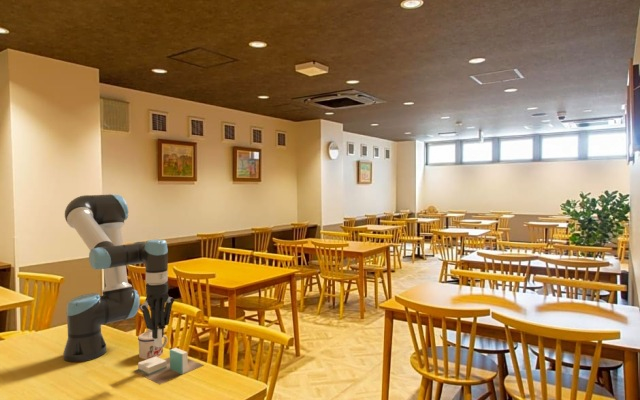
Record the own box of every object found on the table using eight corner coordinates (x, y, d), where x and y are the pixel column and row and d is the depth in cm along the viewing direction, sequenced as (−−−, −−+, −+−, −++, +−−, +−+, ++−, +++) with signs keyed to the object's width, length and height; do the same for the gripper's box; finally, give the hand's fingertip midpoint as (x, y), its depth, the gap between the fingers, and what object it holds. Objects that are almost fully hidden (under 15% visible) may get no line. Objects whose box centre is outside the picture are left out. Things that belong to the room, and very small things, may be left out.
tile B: (170, 369, 152) (169, 349, 151) (176, 366, 154) (175, 347, 153) (181, 374, 147) (181, 354, 147) (187, 371, 149) (187, 352, 149)
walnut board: (133, 375, 150) (132, 371, 150) (177, 358, 165) (177, 354, 165) (159, 388, 140) (159, 384, 140) (204, 369, 154) (204, 365, 154)
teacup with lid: (148, 365, 159) (147, 334, 158) (133, 359, 164) (132, 330, 163) (174, 353, 169) (173, 325, 168) (160, 349, 174) (159, 321, 173)
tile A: (155, 362, 157) (138, 369, 151) (155, 356, 157) (137, 362, 151) (166, 367, 153) (148, 374, 147) (166, 360, 153) (148, 367, 147)
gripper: (145, 287, 146) (147, 354, 147) (178, 280, 156) (179, 343, 157) (134, 284, 150) (135, 349, 151) (167, 277, 160) (168, 338, 162)
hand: (158, 346), depth 154 cm, fingers closed
